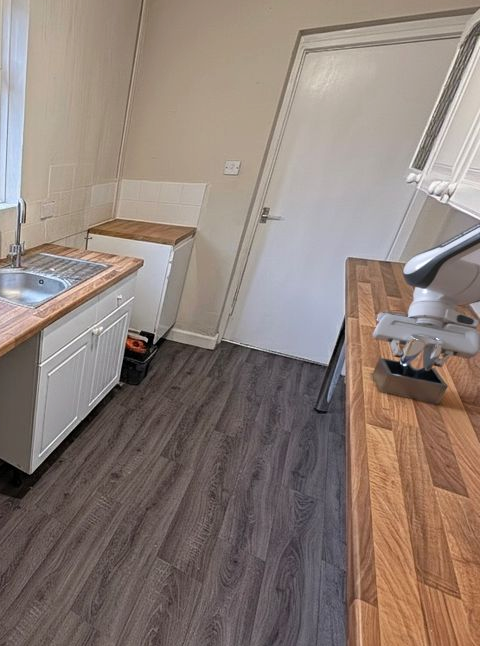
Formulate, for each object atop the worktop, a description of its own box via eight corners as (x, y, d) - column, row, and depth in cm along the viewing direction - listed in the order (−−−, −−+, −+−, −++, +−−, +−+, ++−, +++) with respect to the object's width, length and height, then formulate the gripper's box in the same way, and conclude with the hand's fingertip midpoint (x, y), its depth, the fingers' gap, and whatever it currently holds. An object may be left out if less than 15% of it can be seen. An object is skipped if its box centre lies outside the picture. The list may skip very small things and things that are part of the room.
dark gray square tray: (425, 385, 119) (434, 368, 117) (438, 404, 110) (448, 386, 108) (372, 374, 125) (379, 357, 122) (379, 391, 116) (388, 373, 114)
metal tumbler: (382, 383, 118) (404, 336, 112) (393, 377, 121) (415, 331, 115) (415, 395, 113) (440, 346, 107) (425, 388, 116) (450, 341, 110)
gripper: (382, 304, 120) (369, 345, 117) (488, 322, 108) (477, 369, 105) (376, 314, 125) (363, 353, 122) (477, 332, 112) (466, 377, 110)
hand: (417, 361), depth 113 cm, fingers closed on metal tumbler, 7 cm apart
